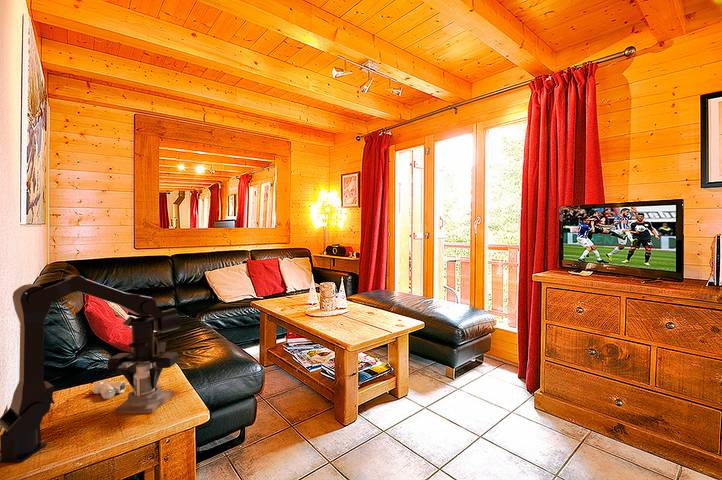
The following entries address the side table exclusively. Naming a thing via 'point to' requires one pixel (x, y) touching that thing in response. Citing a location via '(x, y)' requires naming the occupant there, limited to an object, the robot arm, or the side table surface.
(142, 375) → the pill bottle
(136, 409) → the collar base
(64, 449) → the side table surface
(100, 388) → the pipe fitting
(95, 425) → the side table surface
